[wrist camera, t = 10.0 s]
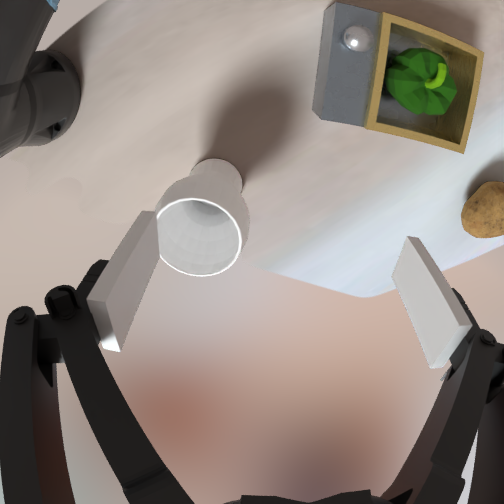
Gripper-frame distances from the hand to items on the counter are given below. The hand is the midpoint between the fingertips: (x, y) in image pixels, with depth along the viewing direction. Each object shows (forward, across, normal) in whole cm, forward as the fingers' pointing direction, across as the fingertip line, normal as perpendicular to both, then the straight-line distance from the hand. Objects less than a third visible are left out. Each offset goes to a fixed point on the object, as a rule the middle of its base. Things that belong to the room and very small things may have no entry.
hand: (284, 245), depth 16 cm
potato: (+29, +37, -5) cm, 47 cm away
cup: (+29, -7, -9) cm, 31 cm away
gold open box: (+29, +14, +10) cm, 34 cm away
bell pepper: (+28, +17, +10) cm, 34 cm away
